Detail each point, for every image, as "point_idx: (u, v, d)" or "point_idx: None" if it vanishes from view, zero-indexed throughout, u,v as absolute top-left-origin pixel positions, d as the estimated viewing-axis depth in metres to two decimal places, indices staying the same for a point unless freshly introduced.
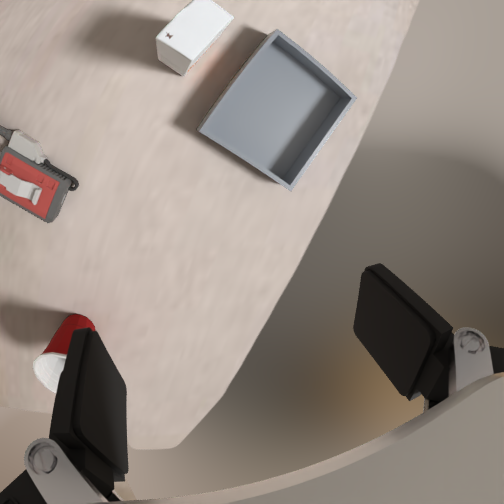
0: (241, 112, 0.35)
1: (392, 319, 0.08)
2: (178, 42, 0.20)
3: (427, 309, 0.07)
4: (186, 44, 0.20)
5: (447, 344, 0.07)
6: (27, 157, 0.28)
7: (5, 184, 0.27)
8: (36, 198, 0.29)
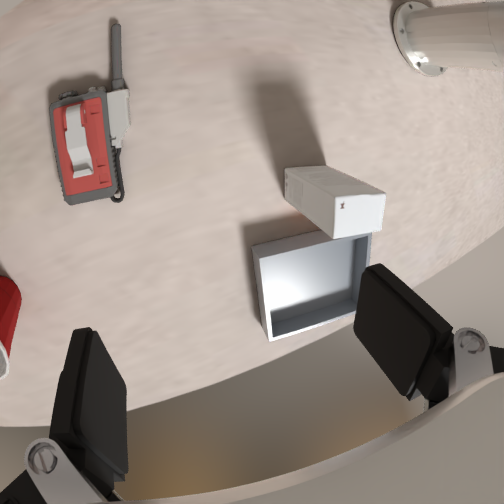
0: (290, 262, 0.41)
1: (392, 319, 0.08)
2: (341, 217, 0.26)
3: (427, 309, 0.07)
4: (343, 224, 0.26)
5: (447, 344, 0.07)
6: (109, 127, 0.26)
7: (69, 127, 0.23)
8: (81, 175, 0.26)
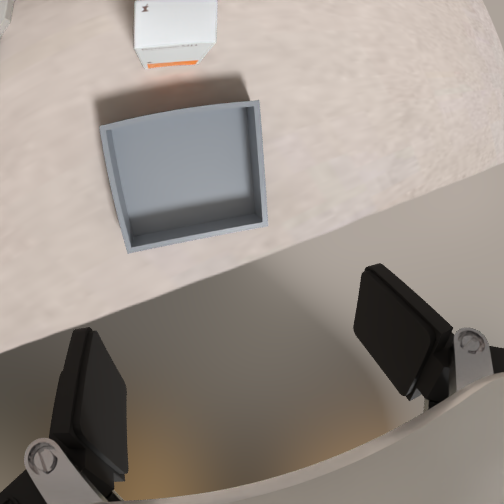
0: (153, 145, 0.30)
1: (392, 319, 0.08)
2: (144, 21, 0.15)
3: (427, 309, 0.07)
4: (147, 29, 0.15)
5: (447, 344, 0.07)
6: None
7: None
8: None
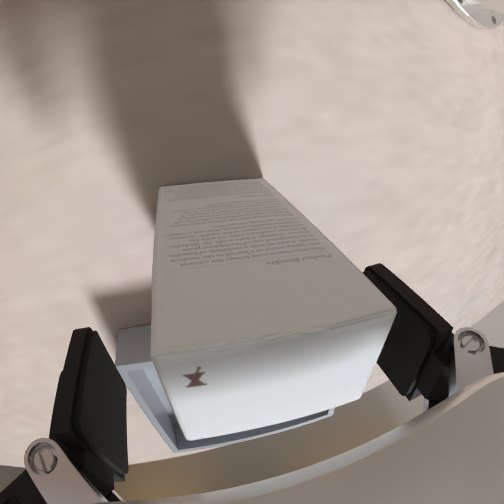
0: None
1: None
2: (200, 405, 0.07)
3: (427, 309, 0.07)
4: (212, 417, 0.07)
5: (447, 344, 0.07)
6: None
7: None
8: None
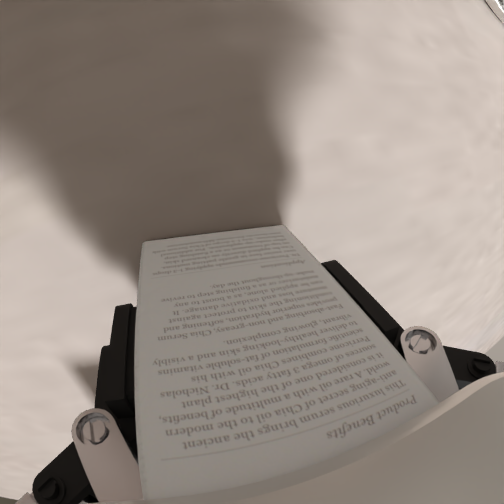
0: None
1: None
2: None
3: (374, 306, 0.08)
4: None
5: (397, 343, 0.08)
6: None
7: None
8: None
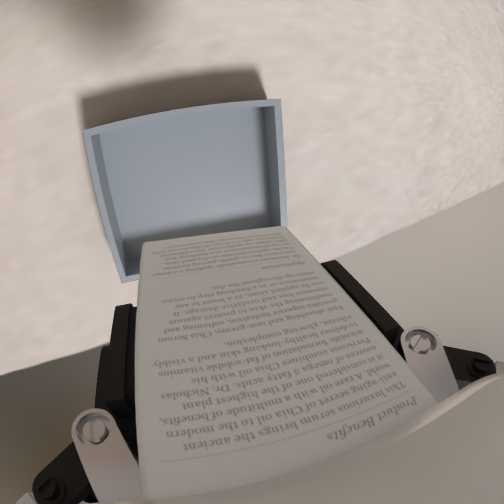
0: (150, 153, 0.24)
1: None
2: None
3: (374, 306, 0.08)
4: None
5: (397, 343, 0.08)
6: None
7: None
8: None
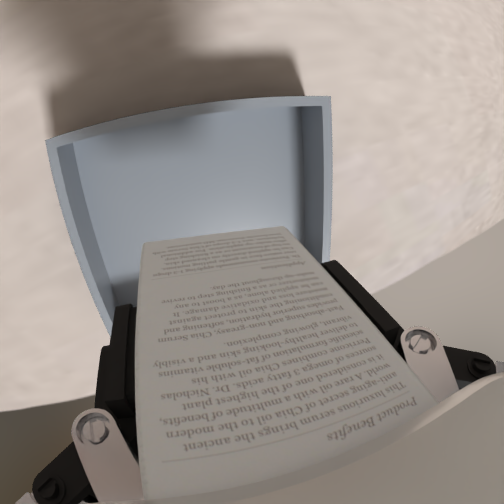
0: (144, 169, 0.17)
1: None
2: None
3: (374, 306, 0.08)
4: None
5: (397, 343, 0.08)
6: None
7: None
8: None
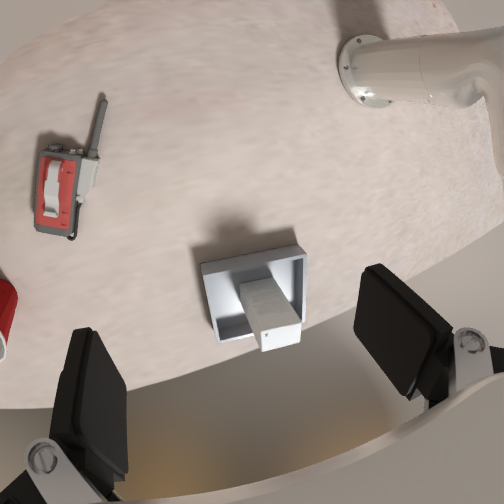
0: (234, 277, 0.48)
1: (392, 319, 0.08)
2: (266, 340, 0.40)
3: (427, 309, 0.07)
4: (268, 343, 0.40)
5: (447, 344, 0.07)
6: (77, 186, 0.34)
7: (49, 179, 0.30)
8: (48, 215, 0.33)
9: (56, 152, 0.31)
